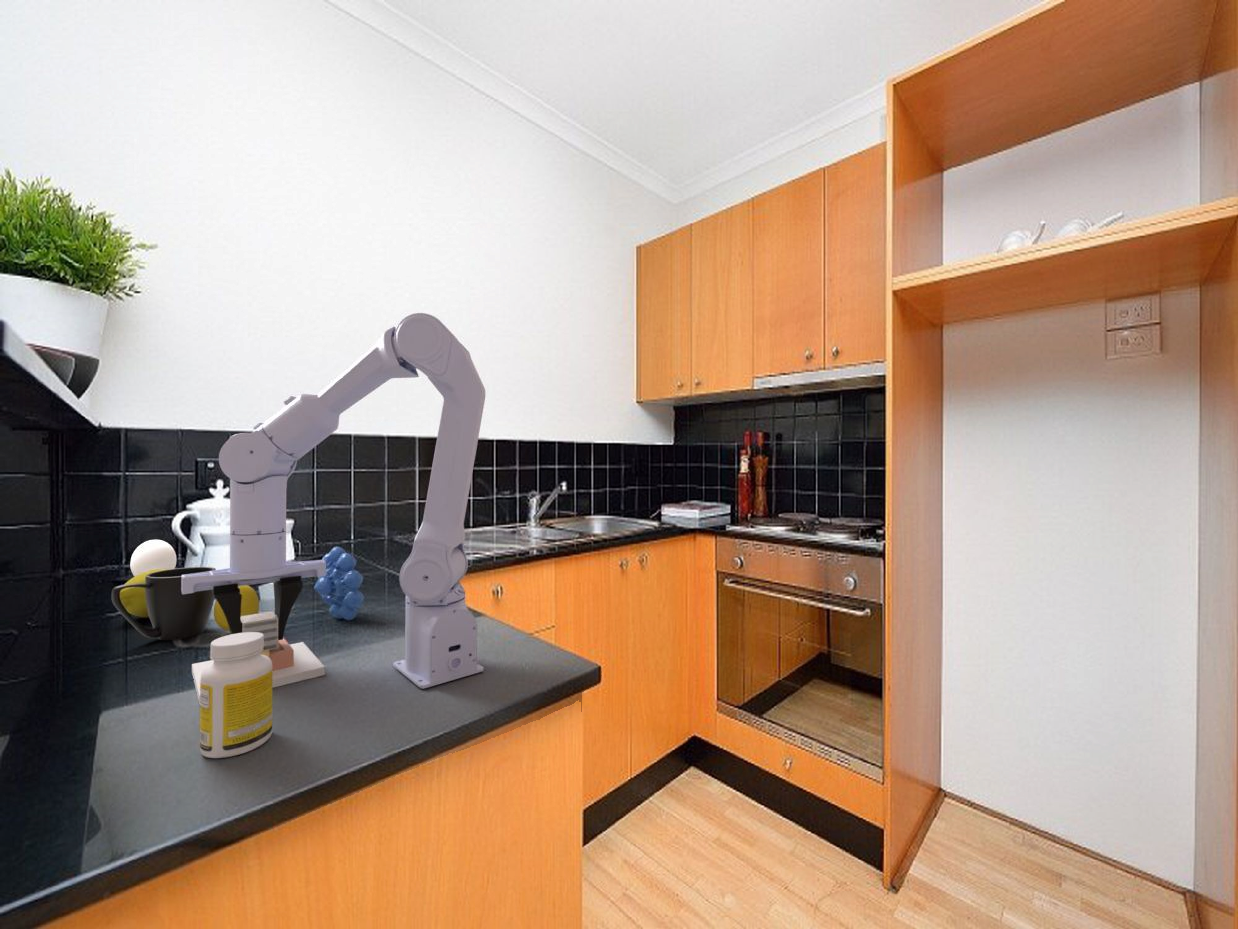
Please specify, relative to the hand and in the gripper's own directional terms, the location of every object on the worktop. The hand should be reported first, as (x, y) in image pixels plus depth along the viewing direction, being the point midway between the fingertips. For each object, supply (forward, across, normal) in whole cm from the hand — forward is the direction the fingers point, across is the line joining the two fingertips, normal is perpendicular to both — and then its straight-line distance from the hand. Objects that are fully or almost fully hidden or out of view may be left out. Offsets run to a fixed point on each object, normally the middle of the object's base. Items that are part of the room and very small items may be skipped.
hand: (258, 642), depth 64 cm
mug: (+4, +8, -25) cm, 27 cm away
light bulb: (+4, +9, -59) cm, 60 cm away
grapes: (+4, -13, -18) cm, 23 cm away
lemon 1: (+4, +9, -40) cm, 41 cm away
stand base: (+4, 0, 0) cm, 4 cm away
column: (+3, 0, 0) cm, 3 cm away
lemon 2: (+4, 0, -20) cm, 20 cm away
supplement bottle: (+4, +4, +18) cm, 19 cm away
